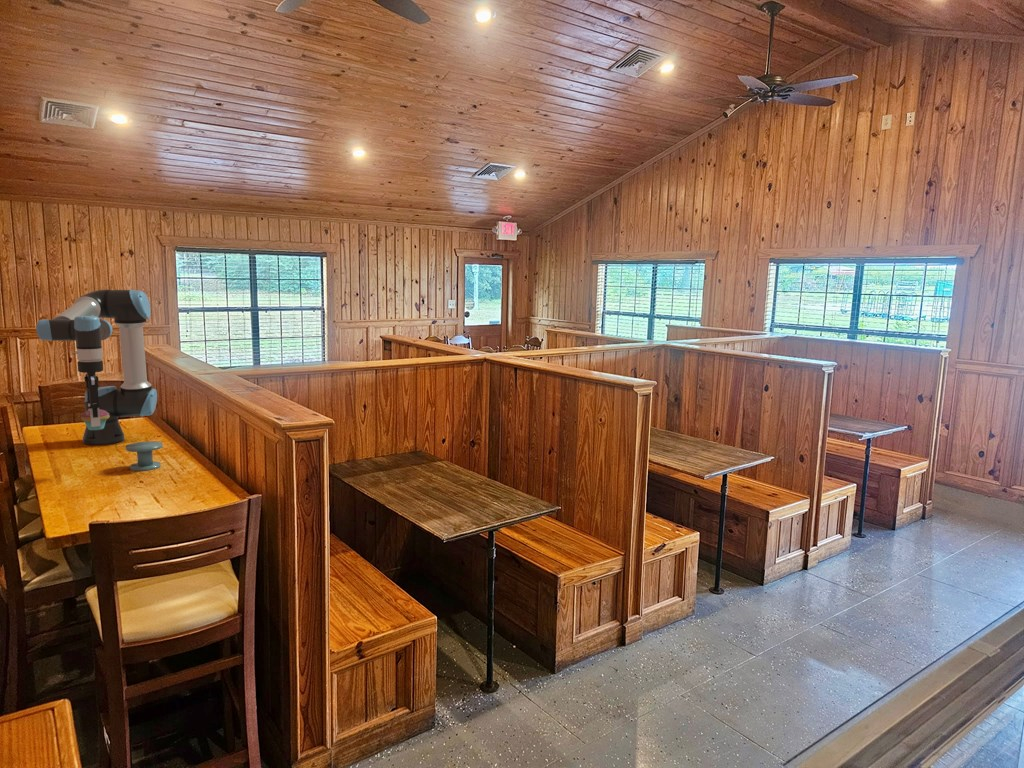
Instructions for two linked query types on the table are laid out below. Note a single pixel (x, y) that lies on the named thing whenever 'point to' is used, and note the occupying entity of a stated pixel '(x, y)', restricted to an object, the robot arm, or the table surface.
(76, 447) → the table surface
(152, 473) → the table surface
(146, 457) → the cake stand
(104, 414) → the cupcake
